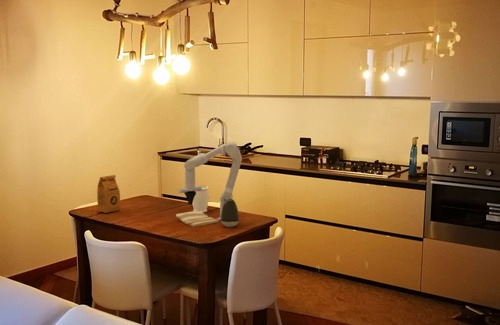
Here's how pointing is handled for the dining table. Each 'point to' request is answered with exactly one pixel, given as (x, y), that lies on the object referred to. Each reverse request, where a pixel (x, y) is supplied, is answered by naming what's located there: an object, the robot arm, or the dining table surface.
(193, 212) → the cream folded cloth
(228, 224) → the smart speaker
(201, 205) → the jar
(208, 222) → the folded beige cloth
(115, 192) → the coffee package
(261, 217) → the dining table surface
